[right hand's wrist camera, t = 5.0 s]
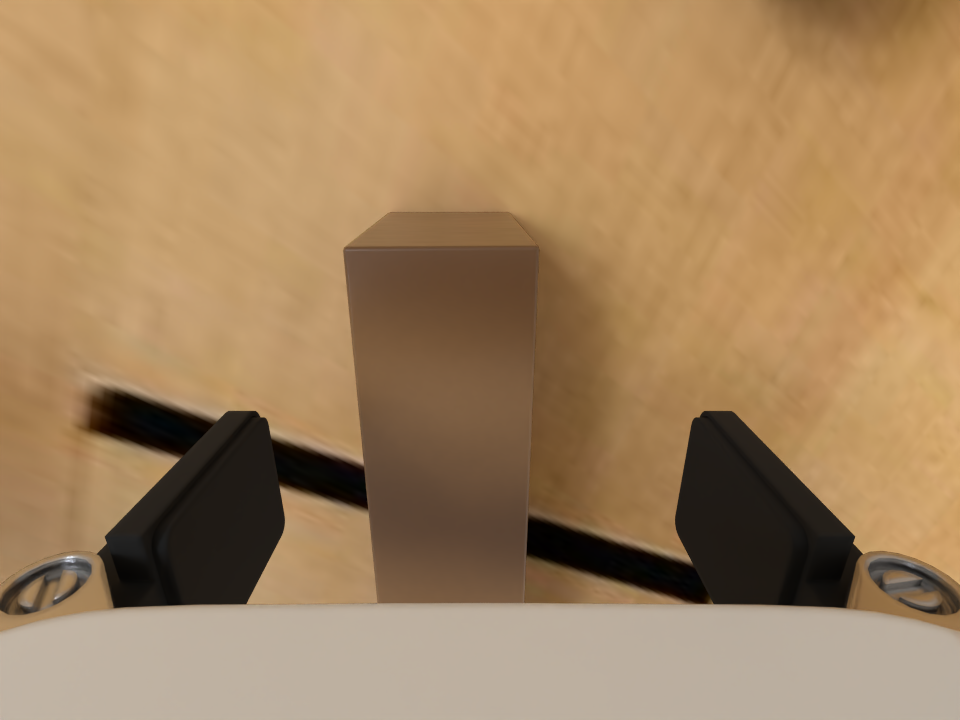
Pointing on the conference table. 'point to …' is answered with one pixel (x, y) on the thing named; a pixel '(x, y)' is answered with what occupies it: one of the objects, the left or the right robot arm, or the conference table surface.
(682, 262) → the conference table surface
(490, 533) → the beam
